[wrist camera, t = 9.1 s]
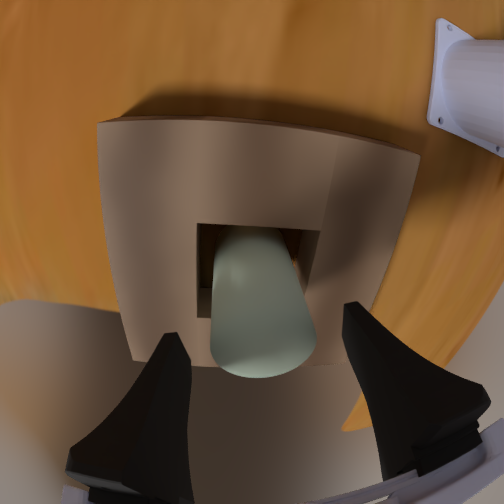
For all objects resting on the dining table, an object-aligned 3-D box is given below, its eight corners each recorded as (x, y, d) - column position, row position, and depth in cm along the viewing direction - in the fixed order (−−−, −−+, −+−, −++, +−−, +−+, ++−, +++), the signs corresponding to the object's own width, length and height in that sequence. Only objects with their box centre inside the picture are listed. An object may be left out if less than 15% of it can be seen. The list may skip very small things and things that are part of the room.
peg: (279, 210, 17) (314, 297, 10) (288, 270, 19) (318, 366, 12) (207, 225, 17) (195, 320, 10) (224, 283, 19) (225, 383, 13)
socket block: (393, 144, 15) (420, 155, 13) (334, 336, 23) (344, 363, 21) (119, 117, 13) (97, 123, 11) (140, 331, 21) (133, 360, 19)
